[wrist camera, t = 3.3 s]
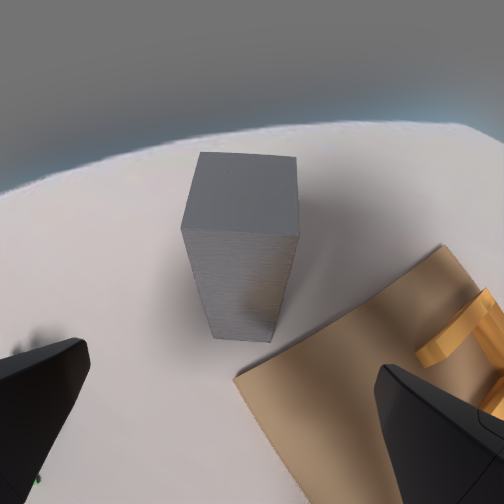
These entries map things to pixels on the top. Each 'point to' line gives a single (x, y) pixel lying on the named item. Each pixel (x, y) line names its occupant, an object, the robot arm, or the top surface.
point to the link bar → (242, 239)
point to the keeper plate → (365, 374)
